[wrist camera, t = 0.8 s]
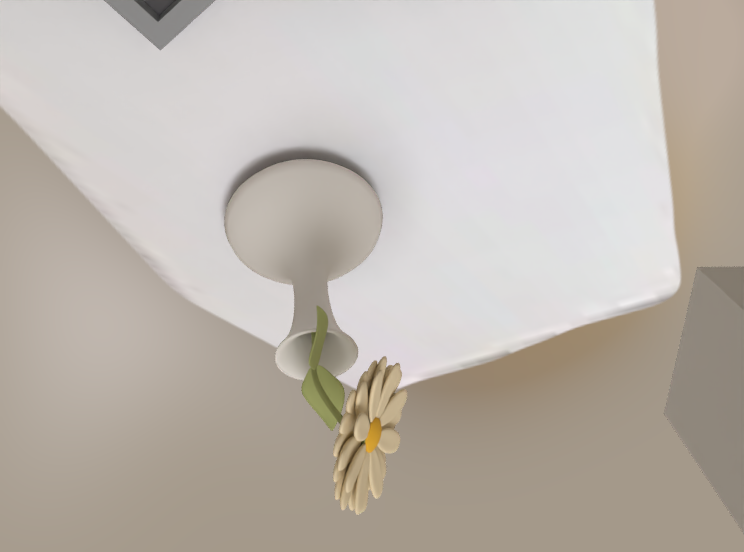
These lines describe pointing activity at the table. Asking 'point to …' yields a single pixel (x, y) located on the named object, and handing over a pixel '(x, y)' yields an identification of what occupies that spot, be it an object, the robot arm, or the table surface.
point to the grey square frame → (159, 16)
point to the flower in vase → (322, 303)
